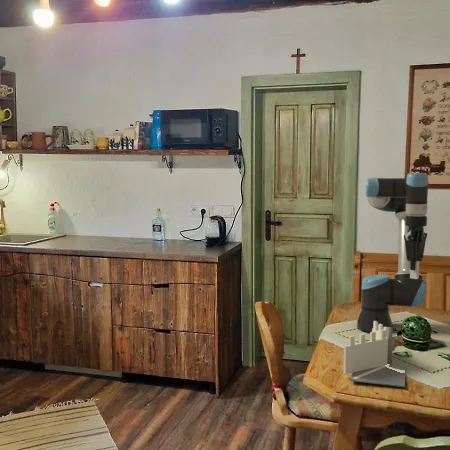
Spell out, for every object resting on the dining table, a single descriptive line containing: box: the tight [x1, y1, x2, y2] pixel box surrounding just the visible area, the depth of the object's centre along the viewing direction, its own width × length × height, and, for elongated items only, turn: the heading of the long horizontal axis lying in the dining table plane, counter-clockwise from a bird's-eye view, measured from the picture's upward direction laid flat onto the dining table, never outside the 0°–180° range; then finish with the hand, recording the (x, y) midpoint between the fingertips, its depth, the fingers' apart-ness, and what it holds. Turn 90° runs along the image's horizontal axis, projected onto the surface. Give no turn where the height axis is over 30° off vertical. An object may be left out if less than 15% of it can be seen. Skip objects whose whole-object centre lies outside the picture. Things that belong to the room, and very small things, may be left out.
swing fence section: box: [343, 330, 388, 375], centre depth 204 cm, size 20×1×13 cm, turn 118°
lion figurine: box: [392, 335, 405, 351], centre depth 226 cm, size 15×5×9 cm
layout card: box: [349, 365, 406, 388], centre depth 208 cm, size 34×18×1 cm, turn 161°
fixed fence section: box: [372, 321, 394, 365], centre depth 215 cm, size 14×2×14 cm, turn 11°
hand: (414, 278), depth 209 cm, fingers closed
